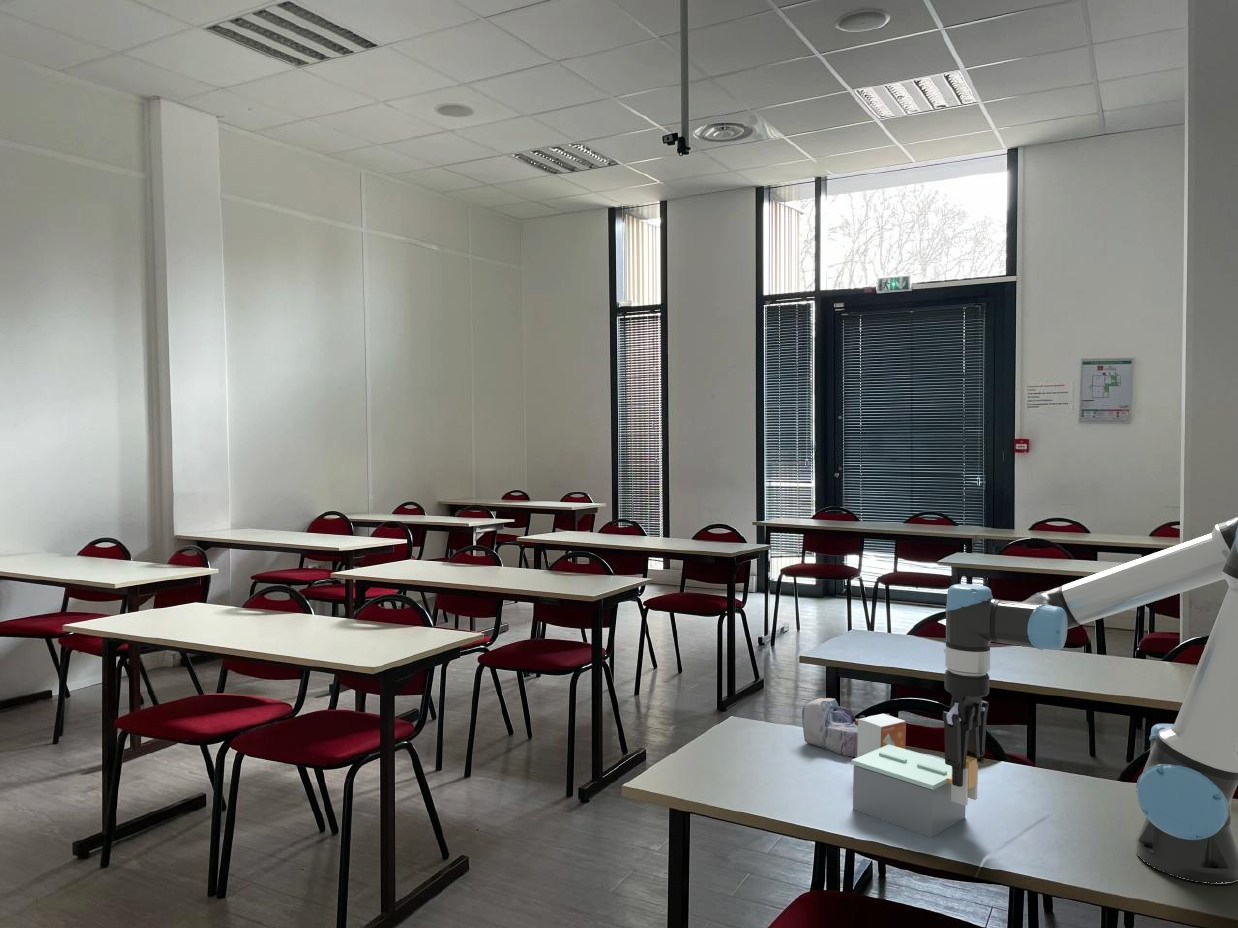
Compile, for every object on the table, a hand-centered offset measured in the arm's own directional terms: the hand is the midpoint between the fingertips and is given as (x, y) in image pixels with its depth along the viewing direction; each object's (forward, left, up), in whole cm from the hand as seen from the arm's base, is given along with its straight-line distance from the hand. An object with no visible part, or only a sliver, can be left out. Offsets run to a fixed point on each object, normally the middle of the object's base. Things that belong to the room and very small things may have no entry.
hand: (964, 799), depth 156 cm
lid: (+9, 0, +3) cm, 9 cm away
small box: (+24, -12, -7) cm, 27 cm away
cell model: (+40, -24, -7) cm, 47 cm away
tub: (+11, 0, -7) cm, 13 cm away
